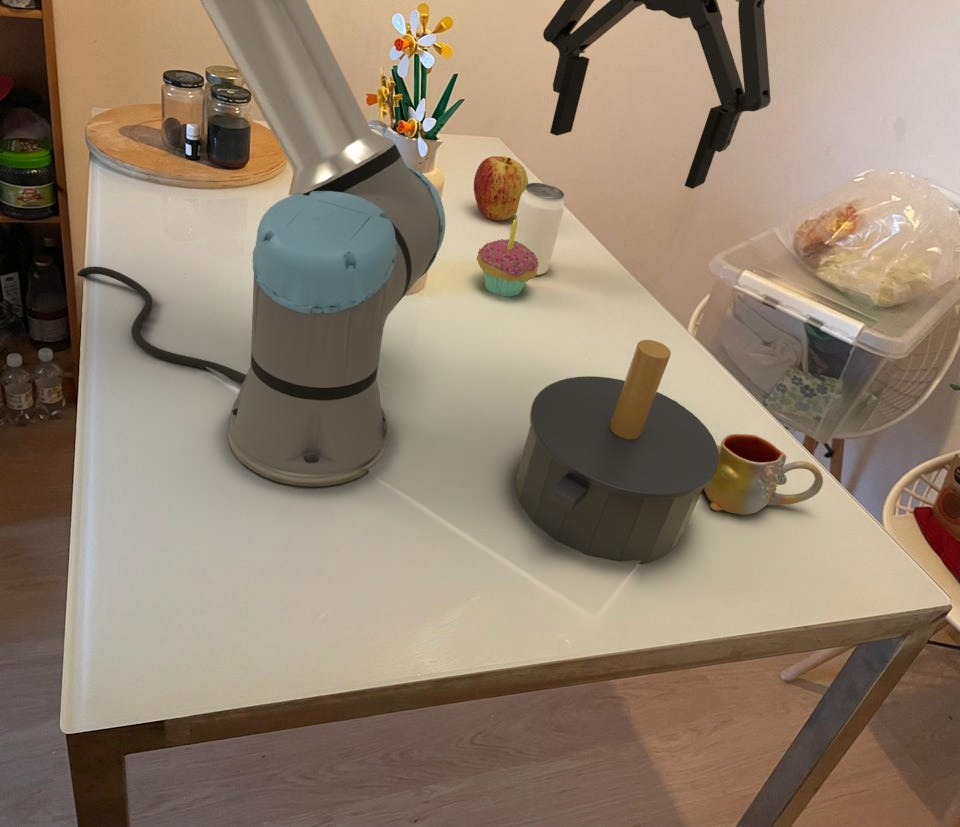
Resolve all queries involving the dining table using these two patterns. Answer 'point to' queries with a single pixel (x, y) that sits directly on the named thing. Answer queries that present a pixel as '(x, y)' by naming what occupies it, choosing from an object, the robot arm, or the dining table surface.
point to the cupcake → (507, 265)
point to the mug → (754, 476)
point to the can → (539, 221)
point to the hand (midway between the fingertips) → (625, 158)
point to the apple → (499, 187)
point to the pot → (597, 511)
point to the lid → (626, 431)
